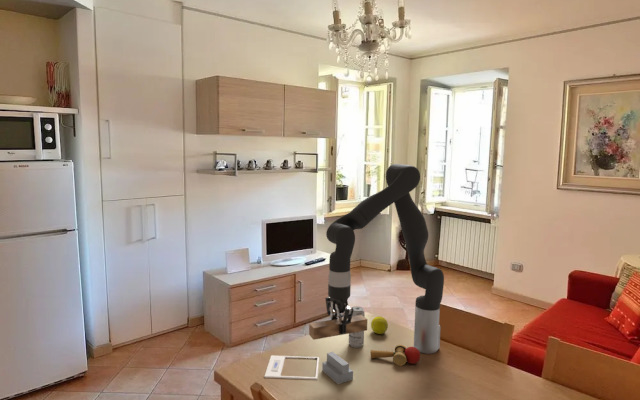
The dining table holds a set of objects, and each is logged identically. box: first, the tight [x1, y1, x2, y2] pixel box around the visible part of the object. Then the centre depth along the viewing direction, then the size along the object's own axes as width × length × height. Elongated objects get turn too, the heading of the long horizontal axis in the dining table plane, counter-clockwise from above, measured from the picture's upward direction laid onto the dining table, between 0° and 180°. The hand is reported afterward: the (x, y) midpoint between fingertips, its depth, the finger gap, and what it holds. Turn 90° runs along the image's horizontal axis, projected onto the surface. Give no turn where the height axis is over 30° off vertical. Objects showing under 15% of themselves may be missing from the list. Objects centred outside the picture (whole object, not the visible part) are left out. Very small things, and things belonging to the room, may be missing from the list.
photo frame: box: [263, 354, 320, 381], centre depth 152 cm, size 15×1×18 cm
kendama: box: [370, 344, 421, 367], centre depth 157 cm, size 8×6×18 cm
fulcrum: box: [321, 351, 354, 385], centre depth 147 cm, size 6×10×6 cm, turn 31°
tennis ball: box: [370, 316, 389, 335], centre depth 180 cm, size 7×7×7 cm
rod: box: [308, 315, 368, 340], centre depth 145 cm, size 20×4×4 cm, turn 113°
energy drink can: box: [348, 306, 366, 349], centre depth 169 cm, size 6×6×15 cm
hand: (338, 331), depth 145 cm, fingers closed on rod, 4 cm apart
